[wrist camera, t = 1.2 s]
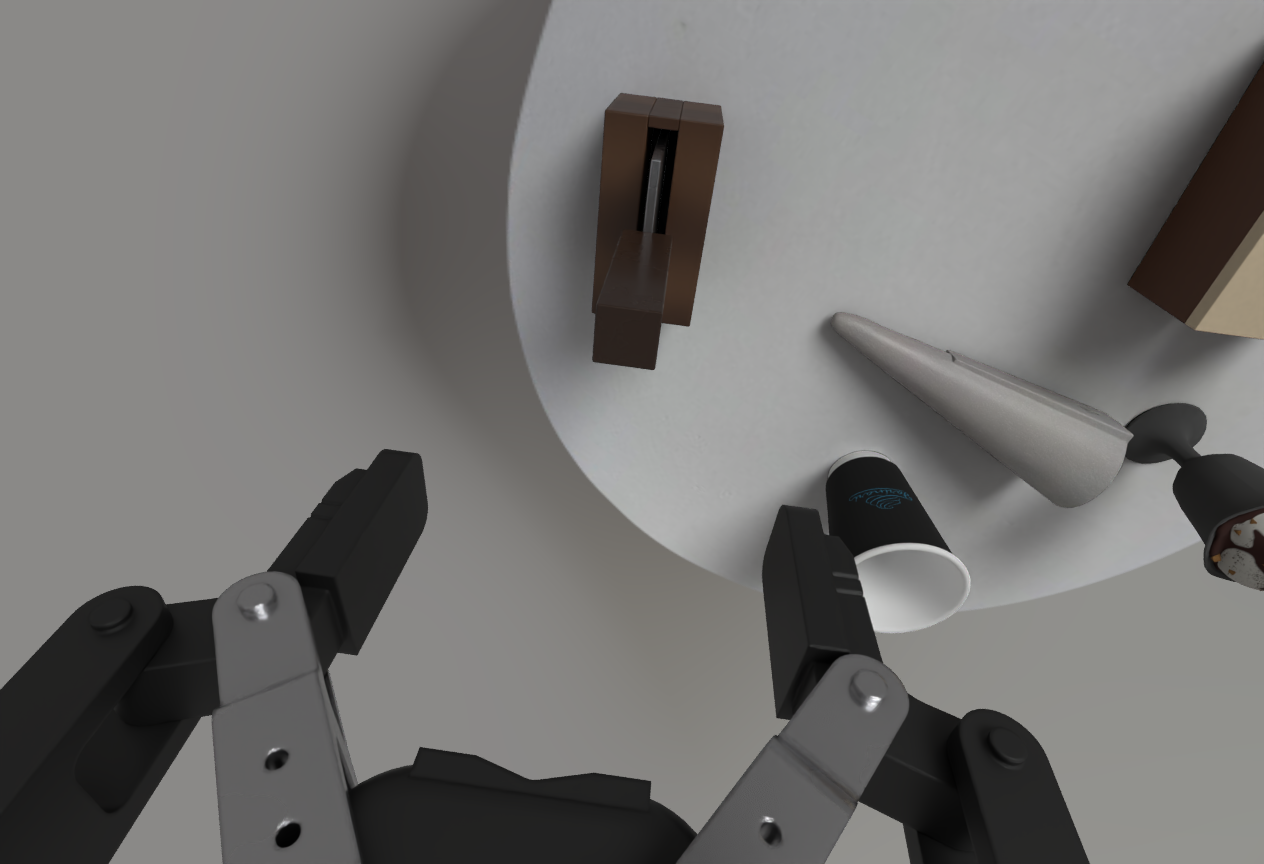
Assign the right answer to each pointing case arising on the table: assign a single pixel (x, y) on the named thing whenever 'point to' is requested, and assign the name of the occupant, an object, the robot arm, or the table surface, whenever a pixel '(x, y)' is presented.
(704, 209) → the knife stand
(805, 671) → the robot arm
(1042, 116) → the table surface
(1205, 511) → the sundae
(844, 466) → the dixie cup
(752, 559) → the table surface
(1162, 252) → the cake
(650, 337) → the knife
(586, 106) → the table surface
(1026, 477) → the long tapered cone
